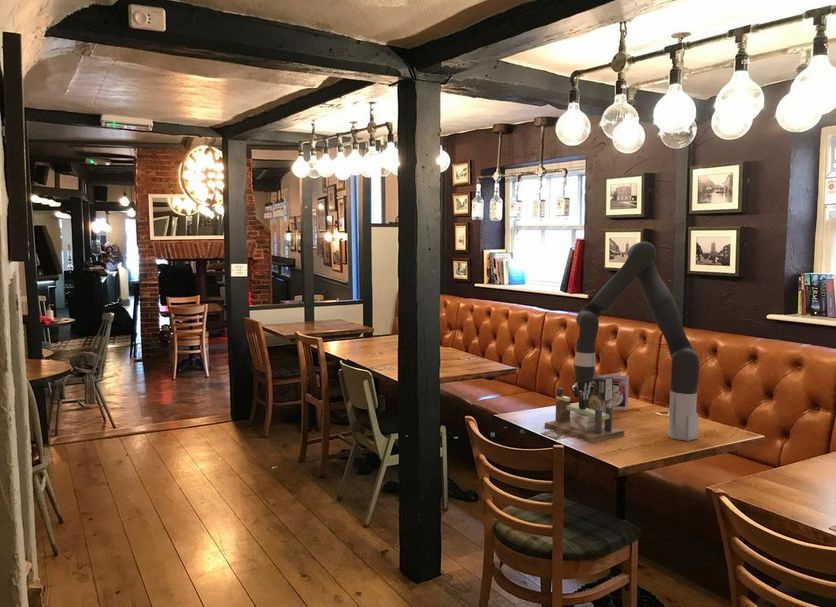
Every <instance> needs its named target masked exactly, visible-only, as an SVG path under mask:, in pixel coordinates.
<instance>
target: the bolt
mask: <svg viewBox="0 0 836 607" xmlns="http://www.w3.org/2000/svg"><path fill="white" fill-rule="evenodd" d="M555 399H556V400H562V401H571V397H569V396H566V395H564V388H563V387H557V388H556V396H555Z"/></svg>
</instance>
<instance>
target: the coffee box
mask: <svg viewBox="0 0 836 607" xmlns="http://www.w3.org/2000/svg"><path fill="white" fill-rule="evenodd" d="M593 382H594V383H595V384H597V386H596V388H595V390H594V392H593V394H592V396H591V397H588V399H587V406H586V408H588V409H592V410H595V409H601V410H602V413H605V407H607V406H608V407H612V406H613V377H607V376H602V375H601V374H600V375H599V374H595V376H594V377H593Z"/></svg>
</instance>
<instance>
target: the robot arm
mask: <svg viewBox="0 0 836 607" xmlns="http://www.w3.org/2000/svg"><path fill="white" fill-rule="evenodd" d="M656 257H657V249H656V247H655V246H654V245H653V244H652V243H651V242H648V241H640V242H636V243H634V244H633V245H632V246H630V247H629V248H628V251H627V259H626V260H625V262H624V263H623V265H621V267H620V268H619V269H618V271H617V272H616V273H615V274H614V275H613V276H612V277H611V278H610V279H609V280H608V281H607V282H606V283H605V284H604V285H603V286H602V287H601V288H600V289H599V291H597V293H596V294H595V296H594V297H593V298H592V300H590V301H589V302H588V303H587V304H585V305H584V307H583V308H582V309H581V310H580V311H579V313H577V315H576V319H575V322H576V324H577V326H578V327H579V334H578V337H577V339H576V346H575V357H574V367H573V368H574V369H573V370H574V371H573V373H574V374H573V375H574V376H575V380H574V384H573V385H570V386H569V388H570V390H571V392H572V394H573V396H574V398H576V399H578V406H579V409H586V406H587V399H588V397H591V396H592V394H593V392H594V390H595V388H596V386H597V384H595V383H594V382H593V377H594V376H595V375H596V358H597V357H596V347H597V337H598V333H599V326H600V324H599V323H600V322H599V317H600V316H602V315H603V314H604V313H607V312H608V311H609V310H610V309H611V307H613V306H614V304H615V303H616V302H617V300H618V299H619V298H620V296H621V295H622V294H623V293H624V292H625V290H626V289H627V288H628V287H629V285H630V284H631V283H632V282H633V281H634V280H635V279H636V278H637V279H638V281H639V283H640V286H641V289H642V292H643V294H644V297H645V300H646V303H647V305H648V308H649V311H650V313H651V316H652V318H653V320H654V322H655V324H656V326H657V327H658V329H659V331H660V332H661V334H662V336H663V338H664V340H665V342H666V344H667V348H668V351H669V354H670V358H671V359H670V360H671V371H670V372H671V373H670V374H671V375H670V378H671V379H670V383H669V385H670V386H669V387H670V388H669V389H670V390H669V406H668V407H669V409H668V411H669V412H668V430H667V433H668V434H667V436H668V437H669V438H671V439H675V440H677V441H678V440H679V441H686V442H689V441H693V440H696V439H698V432H699V431H698V429H699V413H698V412H697V398H698V387H699V374H700V372H699V371H700V360H699V356H698V354H697V352H696V351H695V349H694V347H693V346H692V345H691V344H692V343H691V342H690V341H689V338H688V336H687V334H686V333H685V329H684V325H683V321H682V317H681V314H680V311H679V308H678V305H677V303H676V301H675V299H674V296H673V294H672V293H671V291H670V289H669V288H668V286H667V285H666V283H665V282H664V281H663V279H662V277H661V276H660V274H659V271H658V270H657V266H656V263H655V260H656Z"/></svg>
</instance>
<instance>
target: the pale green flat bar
mask: <svg viewBox="0 0 836 607" xmlns="http://www.w3.org/2000/svg"><path fill="white" fill-rule="evenodd" d="M567 410H570V412H573V413H576V412H577V413H580V414H583V415H587V416H590V417H593V418H595V410H592V409H588V408H586V409H579V404H575V403H572V404H571V405H567ZM605 419H609V414H606V413H602V421H605Z"/></svg>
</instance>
